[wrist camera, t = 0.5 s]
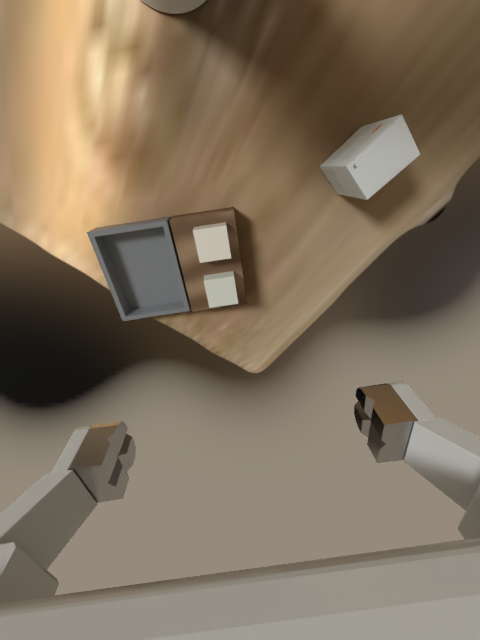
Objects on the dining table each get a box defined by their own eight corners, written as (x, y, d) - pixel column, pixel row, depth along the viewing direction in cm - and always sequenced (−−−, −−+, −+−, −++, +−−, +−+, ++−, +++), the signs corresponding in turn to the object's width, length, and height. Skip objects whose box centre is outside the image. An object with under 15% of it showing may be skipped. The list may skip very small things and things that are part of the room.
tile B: (204, 275, 47) (203, 280, 44) (233, 271, 46) (234, 276, 44) (209, 301, 49) (209, 308, 47) (237, 297, 49) (238, 303, 47)
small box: (336, 194, 45) (366, 202, 36) (318, 166, 43) (344, 166, 34) (379, 156, 43) (423, 154, 34) (362, 124, 41) (403, 113, 32)
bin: (95, 227, 46) (87, 232, 42) (170, 216, 45) (166, 220, 42) (128, 312, 53) (122, 321, 50) (191, 302, 53) (189, 311, 50)
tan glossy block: (173, 216, 45) (169, 220, 42) (233, 206, 45) (234, 210, 42) (194, 302, 53) (192, 311, 50) (245, 294, 53) (246, 303, 50)
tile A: (194, 227, 43) (192, 230, 40) (226, 222, 43) (226, 225, 40) (200, 258, 45) (199, 263, 43) (230, 253, 45) (231, 258, 43)
